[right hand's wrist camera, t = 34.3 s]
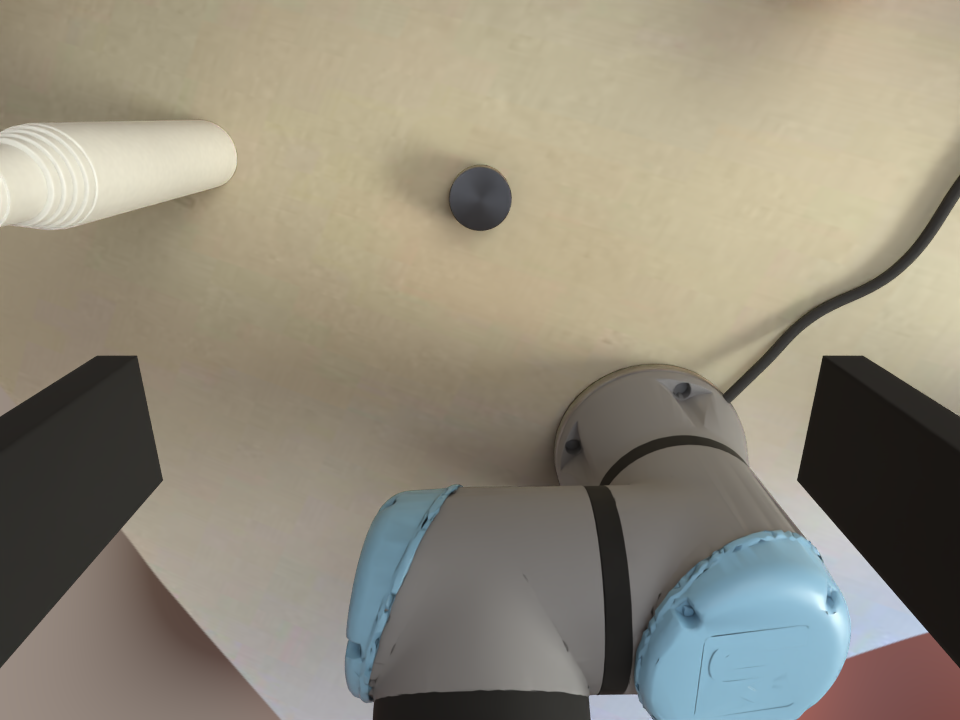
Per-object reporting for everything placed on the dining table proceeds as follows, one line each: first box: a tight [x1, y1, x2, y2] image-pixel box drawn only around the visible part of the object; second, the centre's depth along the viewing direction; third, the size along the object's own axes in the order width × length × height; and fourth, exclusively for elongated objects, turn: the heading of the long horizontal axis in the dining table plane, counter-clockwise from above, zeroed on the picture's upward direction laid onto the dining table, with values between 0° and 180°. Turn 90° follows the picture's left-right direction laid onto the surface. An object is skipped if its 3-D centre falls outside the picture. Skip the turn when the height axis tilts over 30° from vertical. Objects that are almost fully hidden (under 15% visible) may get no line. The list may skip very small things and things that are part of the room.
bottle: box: [0, 120, 237, 230], centre depth 34 cm, size 5×5×23 cm
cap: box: [449, 165, 512, 231], centre depth 45 cm, size 4×4×2 cm
